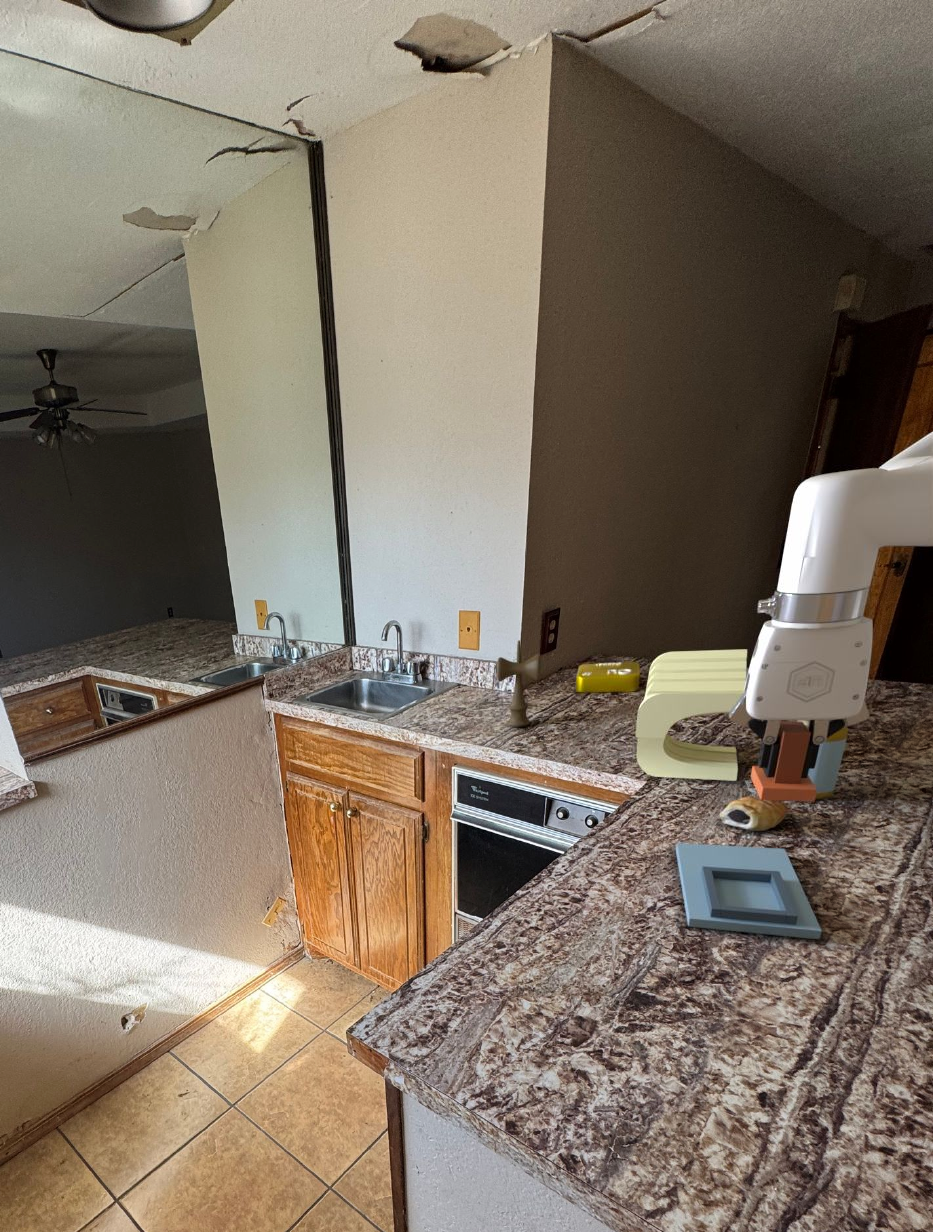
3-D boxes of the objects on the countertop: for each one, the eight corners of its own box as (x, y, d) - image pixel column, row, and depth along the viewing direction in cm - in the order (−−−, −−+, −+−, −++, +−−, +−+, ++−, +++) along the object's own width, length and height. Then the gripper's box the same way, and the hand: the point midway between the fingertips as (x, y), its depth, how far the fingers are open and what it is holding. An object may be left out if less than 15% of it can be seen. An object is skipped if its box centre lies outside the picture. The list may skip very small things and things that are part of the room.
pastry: (755, 805, 104) (760, 783, 102) (800, 819, 98) (805, 796, 96) (714, 821, 101) (718, 799, 99) (757, 837, 95) (762, 814, 93)
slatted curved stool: (642, 737, 136) (651, 652, 129) (732, 740, 129) (747, 649, 121) (630, 793, 114) (639, 693, 106) (738, 800, 106) (756, 692, 98)
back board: (783, 856, 90) (786, 840, 89) (819, 939, 74) (824, 922, 72) (675, 850, 95) (677, 835, 94) (688, 926, 79) (690, 910, 78)
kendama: (539, 728, 151) (541, 641, 142) (496, 730, 154) (495, 644, 145) (540, 720, 156) (542, 635, 147) (498, 722, 159) (497, 639, 150)
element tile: (638, 677, 177) (639, 659, 175) (638, 692, 165) (640, 673, 163) (578, 679, 184) (579, 662, 181) (575, 693, 172) (575, 675, 170)
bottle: (778, 798, 105) (796, 707, 98) (780, 782, 110) (797, 695, 103) (833, 803, 101) (855, 709, 94) (832, 786, 106) (854, 696, 99)
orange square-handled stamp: (800, 778, 77) (813, 717, 74) (814, 801, 72) (829, 737, 68) (750, 777, 79) (761, 717, 76) (760, 800, 74) (772, 737, 70)
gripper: (731, 619, 67) (706, 784, 75) (934, 606, 60) (883, 788, 68) (721, 607, 73) (699, 761, 81) (905, 594, 66) (861, 763, 74)
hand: (784, 772), depth 75 cm, fingers closed on orange square-handled stamp, 2 cm apart
